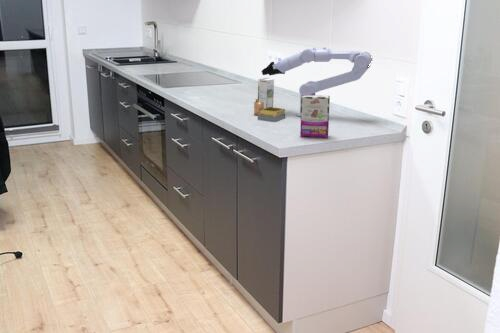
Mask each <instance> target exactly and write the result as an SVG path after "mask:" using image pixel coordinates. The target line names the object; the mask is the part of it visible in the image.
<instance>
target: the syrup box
mask: <svg viewBox="0 0 500 333" xmlns="http://www.w3.org/2000/svg"><path fill="white" fill-rule="evenodd" d="M257 81H258V83H257V99H258V101H260V102H264V108H267V107H274V95H275V92H274V89H275V79H274V78H271V77H263V78H262V77H261V78H258V79H257Z"/></svg>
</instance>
